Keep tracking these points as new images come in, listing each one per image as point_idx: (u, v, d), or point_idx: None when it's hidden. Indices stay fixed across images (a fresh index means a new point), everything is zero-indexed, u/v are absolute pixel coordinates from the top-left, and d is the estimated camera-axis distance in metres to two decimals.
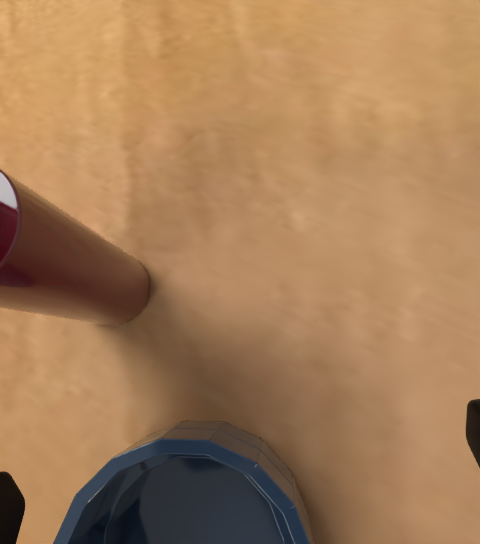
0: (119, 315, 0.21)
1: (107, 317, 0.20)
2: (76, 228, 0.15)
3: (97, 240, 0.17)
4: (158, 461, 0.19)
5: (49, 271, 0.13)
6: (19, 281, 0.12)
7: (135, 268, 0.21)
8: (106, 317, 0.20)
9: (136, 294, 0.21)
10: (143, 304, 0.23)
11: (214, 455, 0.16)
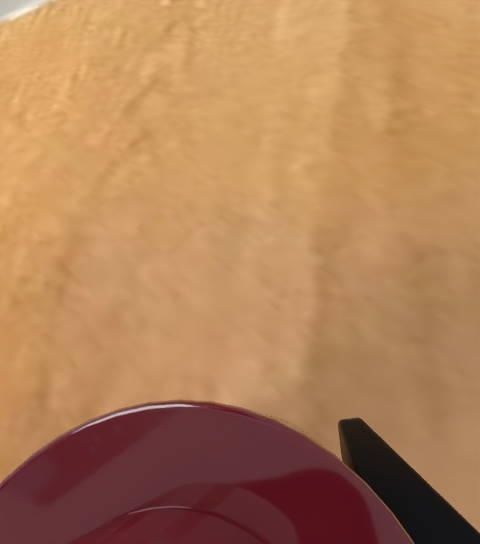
0: None
1: None
2: None
3: None
4: None
5: None
6: None
7: None
8: None
9: None
10: None
11: None
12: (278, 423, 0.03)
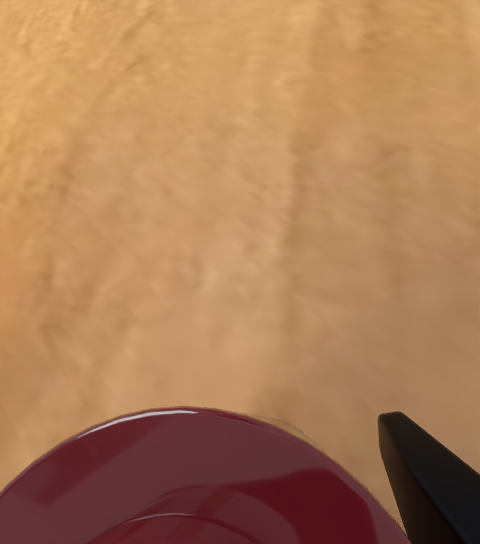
0: None
1: None
2: None
3: None
4: None
5: None
6: None
7: None
8: None
9: None
10: None
11: None
12: (281, 430, 0.03)
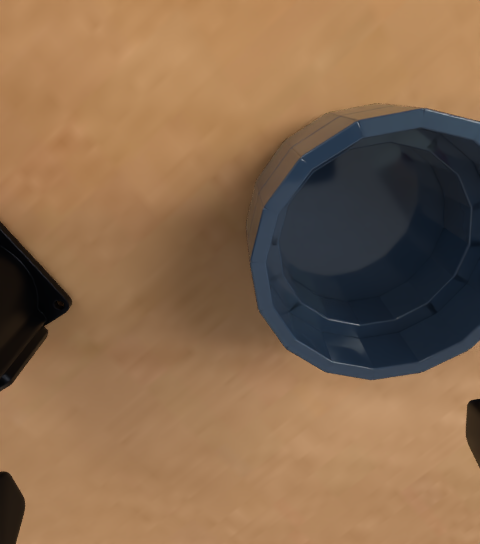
0: None
1: None
2: None
3: None
4: (474, 222, 0.17)
5: None
6: None
7: None
8: None
9: None
10: None
11: None
12: None
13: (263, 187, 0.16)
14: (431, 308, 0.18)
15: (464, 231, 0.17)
